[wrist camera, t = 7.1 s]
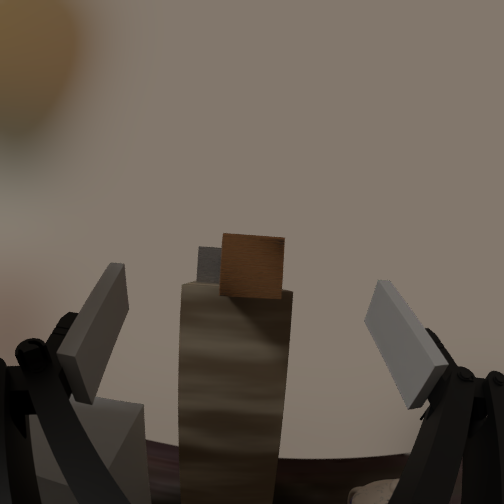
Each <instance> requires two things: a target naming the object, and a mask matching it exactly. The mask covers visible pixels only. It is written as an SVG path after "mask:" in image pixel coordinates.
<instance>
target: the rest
mask: <svg viewBox="0 0 504 504" xmlns="http://www.w3.org/2000/svg"><path fill="white" fill-rule="evenodd" d="M69 401H70V403H71V405H72V407H73V409H74V411H75V413H76V415H77V417H78V419H79V421H80V423H81V424H82V426H83V428H84V430H85V432H86V434H87V436H88V437H89V439H90V441H91V443H92V444H93V446H94V448H95V450H96V451H97V453H98V455H99V456H100V458H101V460H102V461H103V463H104V464H105V466H106V468H107V469H108V471H109V472H110V474H111V475H112V477H113V479H114V480H115V482H116V483H117V485H118V486H119V487H120V489H121V490H122V492H123V493H124V495H125V496H126V497H127V499H128V500H129V502H130V503H131V504H152V503H151V495H150V486H149V477H148V466H147V454H146V440H145V423H144V405H143V404H137V403H130V402H124V401H117V400H111V399H106V398H100V397H95V399H94V402H93V405H89V404H84V403H80V402H76V401H75V399H74V397H73V395H72V394H71V396H70V399H69ZM29 423H30V434H31V443H32V451H33V459H34V465H35V472H36V478H37V483H38V488H39V493H40V498H41V503H42V504H79V503H78V502H77V500H76V498H75V496H74V494H73V493H72V491H71V489H70V487H69V485H68V483H67V481H66V479H65V478H64V476H63V474H62V472H61V470H60V468H59V465H58V463H57V461H56V459H55V457H54V455H53V453H52V450H51V448H50V446H49V444H48V441H47V439H46V437H45V434H44V432H43V429H42V427H41V424H40V422H39V419H38V417H37V415H29Z"/></svg>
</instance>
